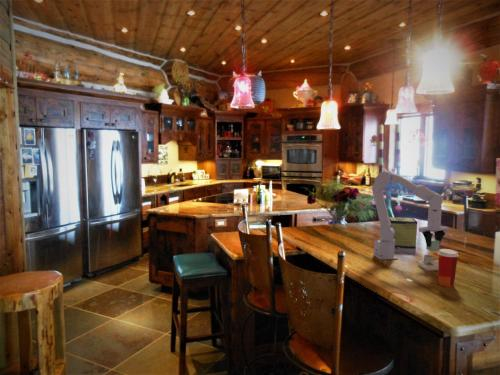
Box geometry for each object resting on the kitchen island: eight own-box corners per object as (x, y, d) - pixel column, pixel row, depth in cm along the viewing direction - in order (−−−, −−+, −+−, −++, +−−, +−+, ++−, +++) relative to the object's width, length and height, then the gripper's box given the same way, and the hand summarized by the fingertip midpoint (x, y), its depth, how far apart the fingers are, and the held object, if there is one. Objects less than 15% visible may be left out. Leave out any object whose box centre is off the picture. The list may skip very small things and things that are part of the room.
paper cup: (450, 281, 162) (452, 248, 160) (460, 287, 154) (462, 253, 153) (431, 281, 162) (433, 248, 160) (441, 287, 154) (443, 253, 152)
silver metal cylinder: (427, 268, 177) (427, 257, 176) (421, 265, 181) (422, 255, 180) (435, 267, 177) (435, 257, 177) (429, 265, 181) (430, 254, 181)
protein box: (416, 249, 211) (417, 221, 210) (386, 247, 214) (388, 220, 213) (412, 244, 222) (413, 217, 220) (384, 242, 225) (385, 216, 223)
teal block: (431, 251, 183) (432, 241, 183) (426, 248, 187) (426, 238, 186) (439, 250, 184) (439, 240, 183) (433, 248, 188) (434, 238, 187)
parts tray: (427, 270, 175) (427, 265, 175) (418, 265, 182) (418, 261, 182) (451, 269, 177) (451, 264, 177) (441, 264, 184) (441, 260, 184)
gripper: (425, 220, 179) (424, 248, 180) (453, 219, 181) (451, 247, 183) (416, 217, 186) (415, 245, 187) (443, 216, 188) (442, 244, 189)
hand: (432, 246), depth 185 cm, fingers closed on teal block, 4 cm apart
